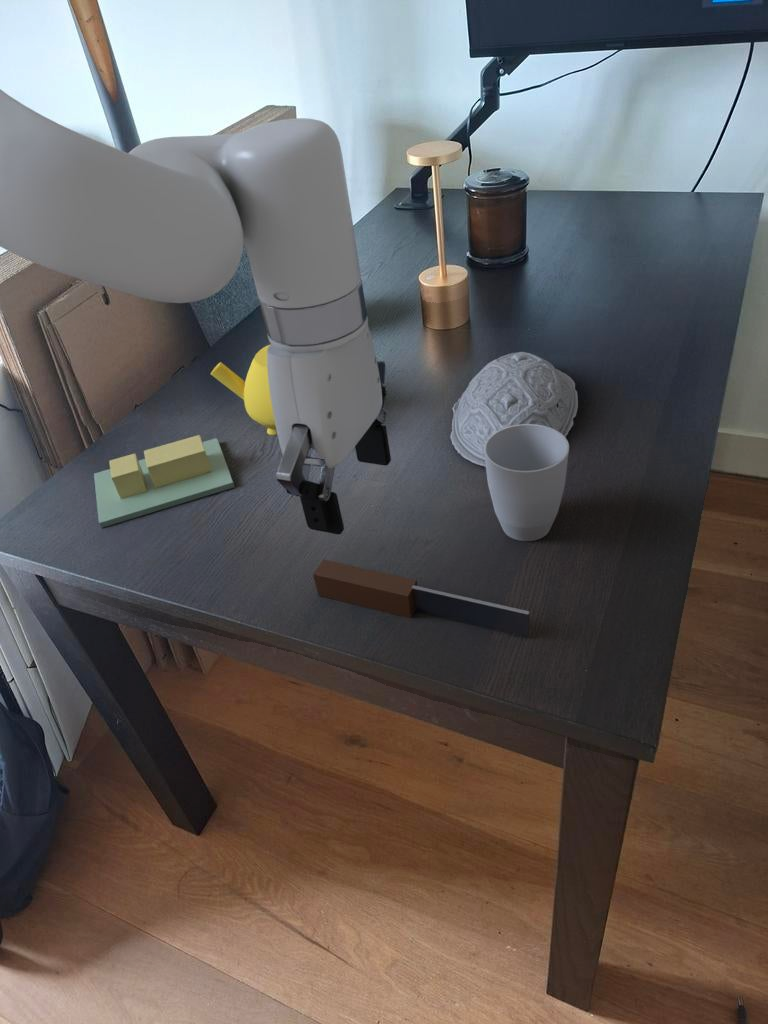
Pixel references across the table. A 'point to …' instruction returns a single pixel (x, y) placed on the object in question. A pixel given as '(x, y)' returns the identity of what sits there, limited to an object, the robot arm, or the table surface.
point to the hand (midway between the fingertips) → (351, 494)
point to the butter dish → (160, 490)
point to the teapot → (252, 389)
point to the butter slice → (127, 476)
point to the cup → (526, 478)
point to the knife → (412, 598)
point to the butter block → (177, 461)
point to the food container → (512, 402)
